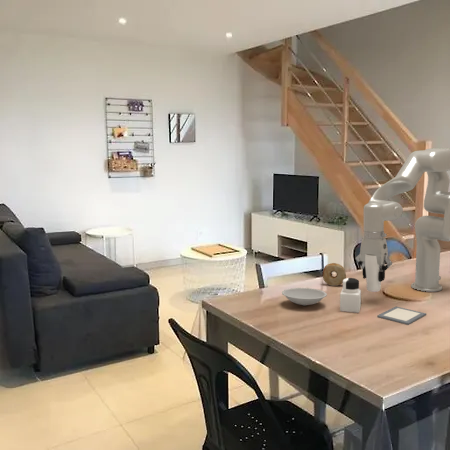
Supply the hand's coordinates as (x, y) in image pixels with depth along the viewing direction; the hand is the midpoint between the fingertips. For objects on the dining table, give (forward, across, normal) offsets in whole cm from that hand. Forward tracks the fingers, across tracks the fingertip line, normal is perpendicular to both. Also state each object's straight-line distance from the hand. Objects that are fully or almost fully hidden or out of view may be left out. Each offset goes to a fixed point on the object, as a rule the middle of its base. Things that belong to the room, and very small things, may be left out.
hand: (373, 278), depth 204 cm
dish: (+9, +18, +21) cm, 29 cm away
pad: (+10, -16, +7) cm, 20 cm away
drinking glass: (+5, 0, 0) cm, 5 cm away
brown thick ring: (+10, +25, -10) cm, 29 cm away
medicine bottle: (+10, +2, +13) cm, 17 cm away
